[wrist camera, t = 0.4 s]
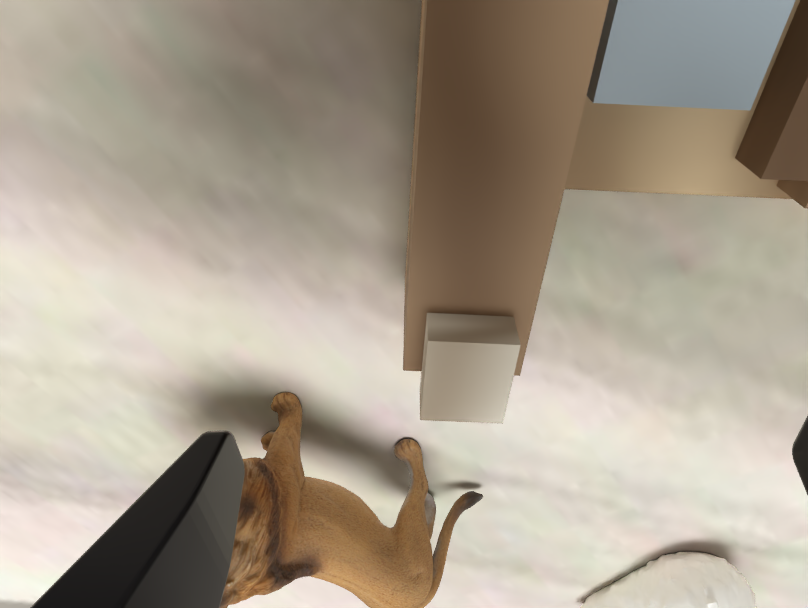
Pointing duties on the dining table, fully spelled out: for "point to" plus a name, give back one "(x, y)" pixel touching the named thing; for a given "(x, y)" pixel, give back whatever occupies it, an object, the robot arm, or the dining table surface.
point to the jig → (706, 138)
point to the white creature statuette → (678, 585)
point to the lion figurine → (333, 528)
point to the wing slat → (686, 52)
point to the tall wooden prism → (488, 188)
